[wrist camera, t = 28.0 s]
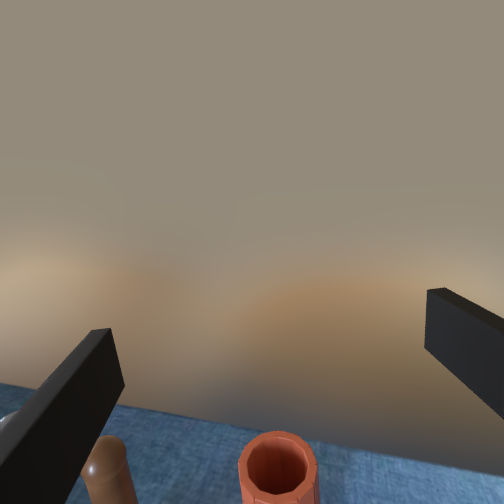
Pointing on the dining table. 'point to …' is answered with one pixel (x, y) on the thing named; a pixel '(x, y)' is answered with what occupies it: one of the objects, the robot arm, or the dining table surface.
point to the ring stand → (109, 473)
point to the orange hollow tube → (278, 470)
